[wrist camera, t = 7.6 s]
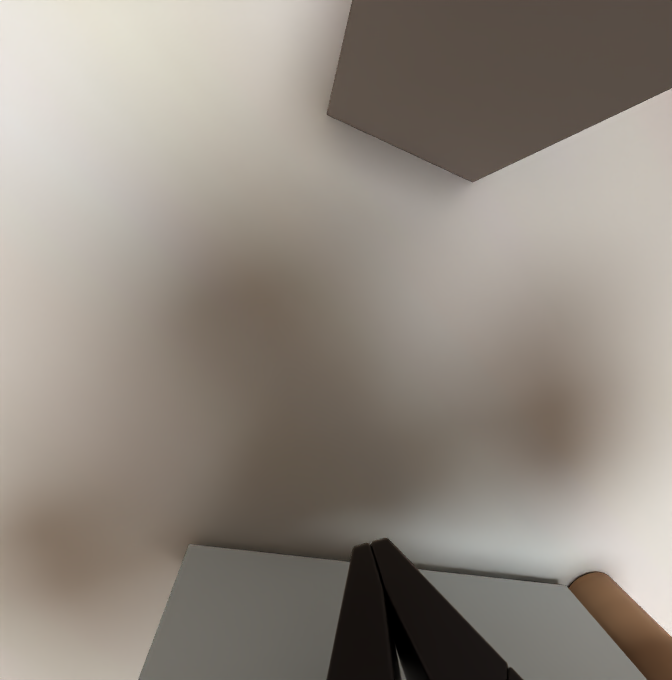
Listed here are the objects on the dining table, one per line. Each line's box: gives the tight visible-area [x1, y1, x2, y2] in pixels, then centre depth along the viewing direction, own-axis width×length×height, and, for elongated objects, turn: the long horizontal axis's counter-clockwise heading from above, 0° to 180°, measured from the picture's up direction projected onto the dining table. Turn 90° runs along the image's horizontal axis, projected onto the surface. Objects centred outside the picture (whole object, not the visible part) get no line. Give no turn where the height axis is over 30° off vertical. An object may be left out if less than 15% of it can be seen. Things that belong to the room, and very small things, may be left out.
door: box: [138, 544, 647, 680], centre depth 9 cm, size 13×2×4 cm, turn 76°
